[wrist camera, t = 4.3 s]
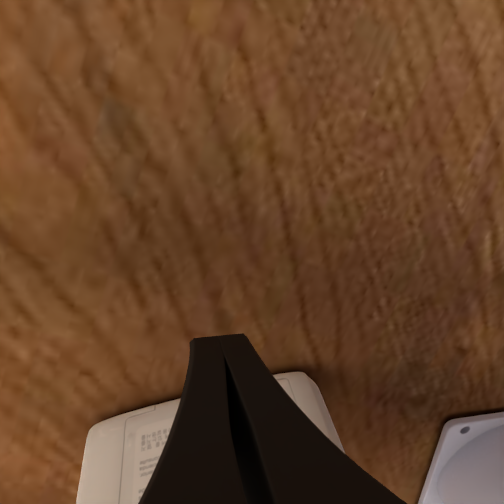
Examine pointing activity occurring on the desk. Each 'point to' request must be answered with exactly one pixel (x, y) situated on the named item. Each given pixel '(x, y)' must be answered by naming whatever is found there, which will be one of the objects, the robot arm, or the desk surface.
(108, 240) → the desk surface
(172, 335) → the desk surface
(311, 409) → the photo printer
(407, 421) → the desk surface
